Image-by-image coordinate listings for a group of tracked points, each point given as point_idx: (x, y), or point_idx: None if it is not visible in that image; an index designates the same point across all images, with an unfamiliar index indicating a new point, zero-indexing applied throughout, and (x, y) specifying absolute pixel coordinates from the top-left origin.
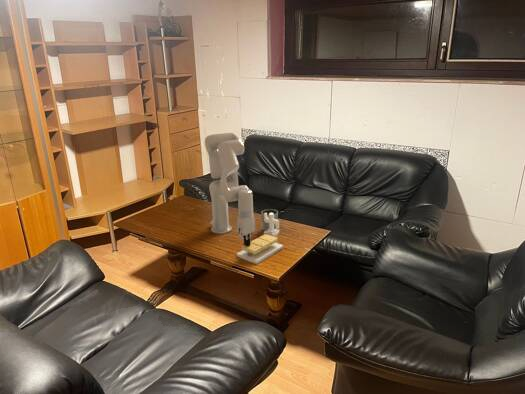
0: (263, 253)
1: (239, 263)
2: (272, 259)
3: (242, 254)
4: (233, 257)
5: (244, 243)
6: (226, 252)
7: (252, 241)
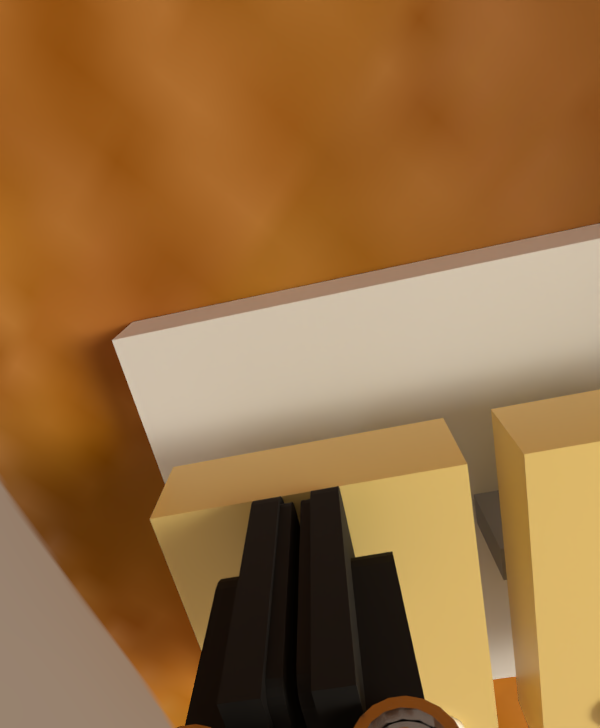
0: (498, 618)
1: (61, 530)
2: (499, 697)
3: (190, 440)
4: (59, 321)
5: (219, 600)
6: (15, 24)
7: (586, 470)
